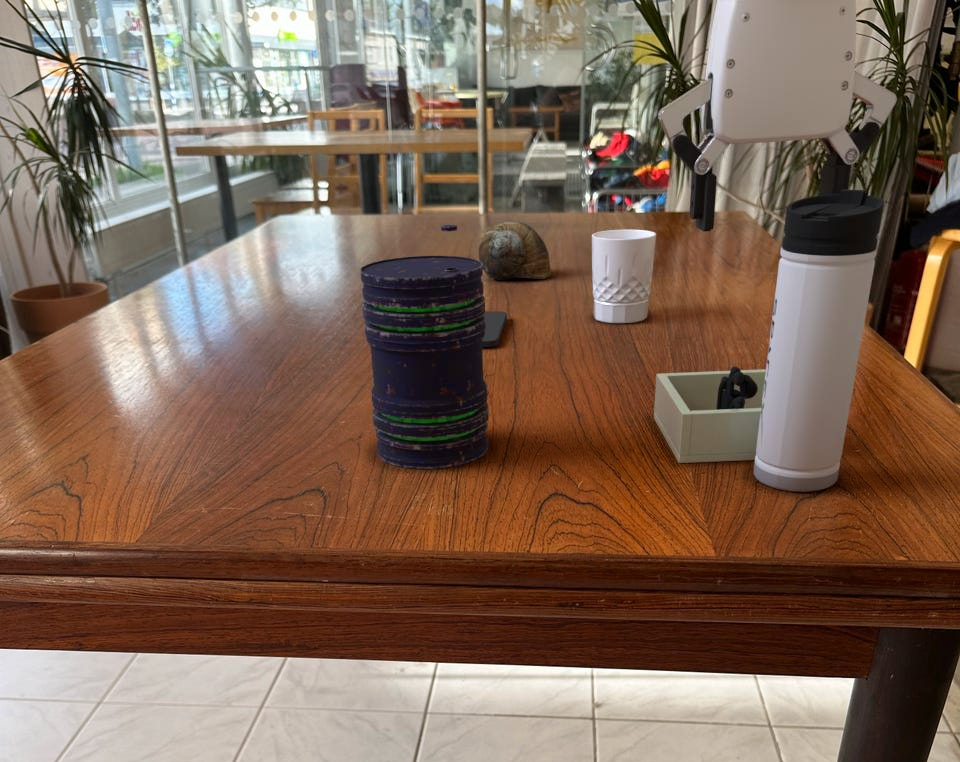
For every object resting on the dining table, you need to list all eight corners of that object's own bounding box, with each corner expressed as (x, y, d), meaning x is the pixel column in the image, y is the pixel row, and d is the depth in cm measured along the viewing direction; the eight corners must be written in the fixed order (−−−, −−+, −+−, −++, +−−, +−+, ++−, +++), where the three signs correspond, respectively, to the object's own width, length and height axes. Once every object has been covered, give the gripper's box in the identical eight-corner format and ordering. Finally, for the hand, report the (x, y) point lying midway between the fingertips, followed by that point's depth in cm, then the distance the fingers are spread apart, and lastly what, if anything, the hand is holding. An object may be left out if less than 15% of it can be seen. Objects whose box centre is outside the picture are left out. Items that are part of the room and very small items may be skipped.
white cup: (619, 308, 126) (622, 227, 120) (664, 317, 120) (669, 233, 115) (576, 318, 121) (578, 235, 116) (621, 328, 116) (625, 241, 111)
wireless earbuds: (712, 415, 84) (718, 358, 81) (741, 414, 84) (747, 357, 81) (729, 441, 78) (736, 381, 76) (759, 441, 78) (767, 380, 75)
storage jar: (352, 456, 81) (327, 230, 71) (421, 423, 88) (406, 213, 78) (446, 477, 76) (433, 237, 66) (511, 440, 83) (507, 218, 73)
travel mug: (852, 473, 73) (903, 191, 63) (815, 499, 69) (862, 202, 59) (778, 456, 77) (814, 187, 67) (738, 480, 73) (770, 197, 63)
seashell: (476, 284, 143) (474, 227, 139) (482, 272, 151) (480, 218, 147) (551, 282, 142) (551, 225, 138) (552, 271, 150) (552, 216, 146)
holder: (779, 413, 86) (785, 368, 84) (820, 457, 77) (828, 408, 74) (653, 418, 87) (656, 373, 84) (678, 463, 77) (682, 414, 74)
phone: (434, 341, 110) (451, 311, 123) (434, 348, 111) (451, 318, 123) (497, 341, 109) (508, 311, 122) (497, 348, 110) (508, 317, 123)
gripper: (894, -47, 68) (858, 211, 77) (654, -30, 68) (646, 225, 77) (940, -59, 61) (895, 224, 70) (675, -41, 62) (664, 239, 71)
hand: (765, 224), depth 74 cm, fingers open, 9 cm apart
